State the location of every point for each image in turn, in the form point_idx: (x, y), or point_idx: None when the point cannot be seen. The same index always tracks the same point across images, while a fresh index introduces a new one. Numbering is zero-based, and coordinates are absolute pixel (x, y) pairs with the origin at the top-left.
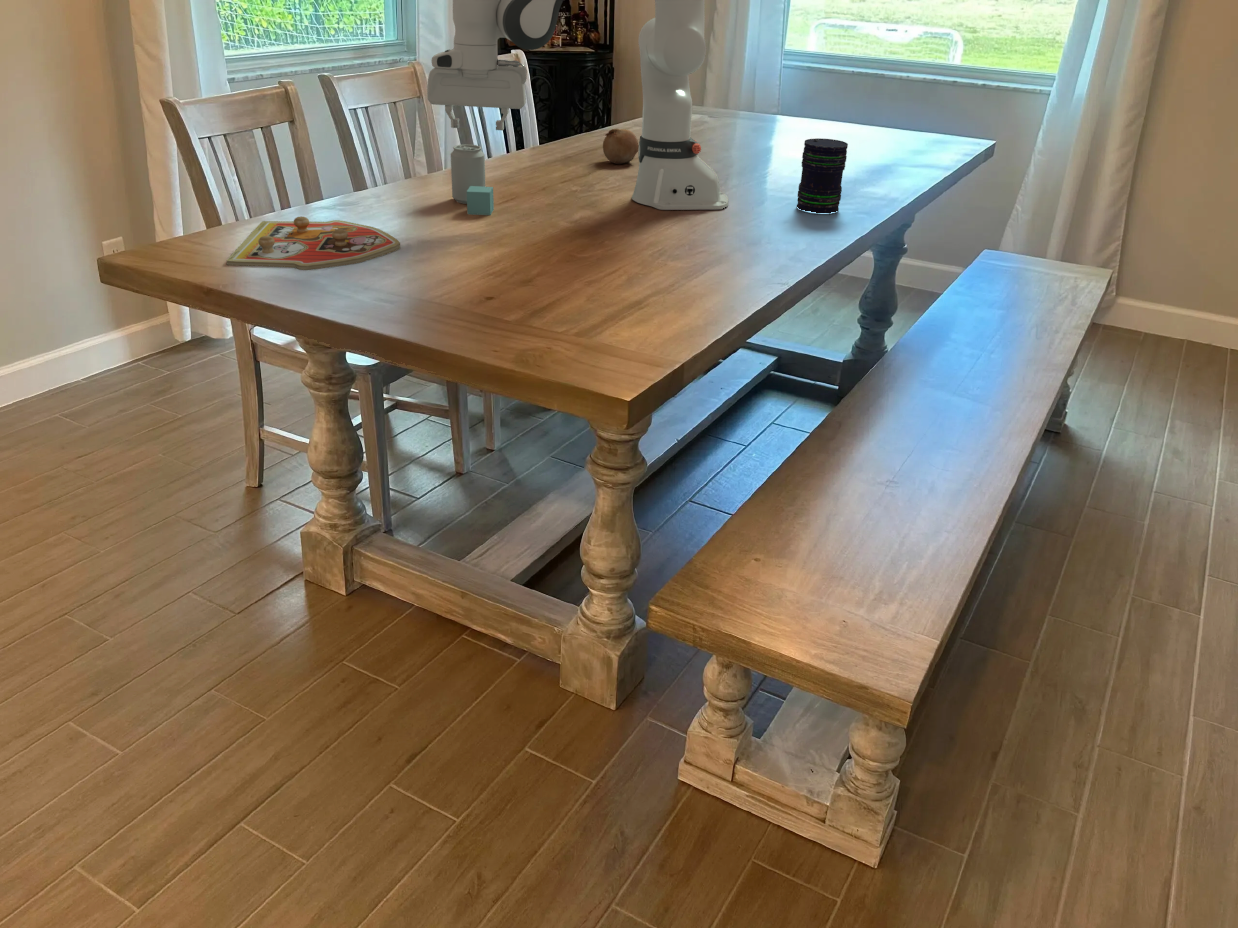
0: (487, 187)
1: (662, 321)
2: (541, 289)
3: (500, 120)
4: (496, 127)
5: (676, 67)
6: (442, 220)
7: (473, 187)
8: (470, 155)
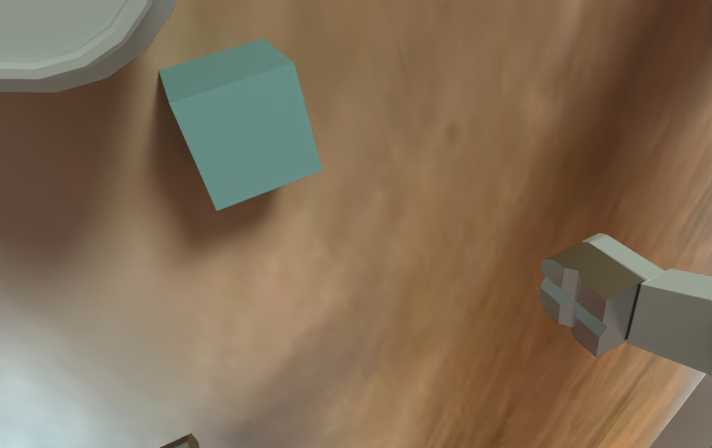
0: (271, 88)
1: (637, 419)
2: (517, 442)
3: (644, 349)
4: (561, 319)
5: None
6: (161, 279)
7: (203, 124)
8: (120, 48)
